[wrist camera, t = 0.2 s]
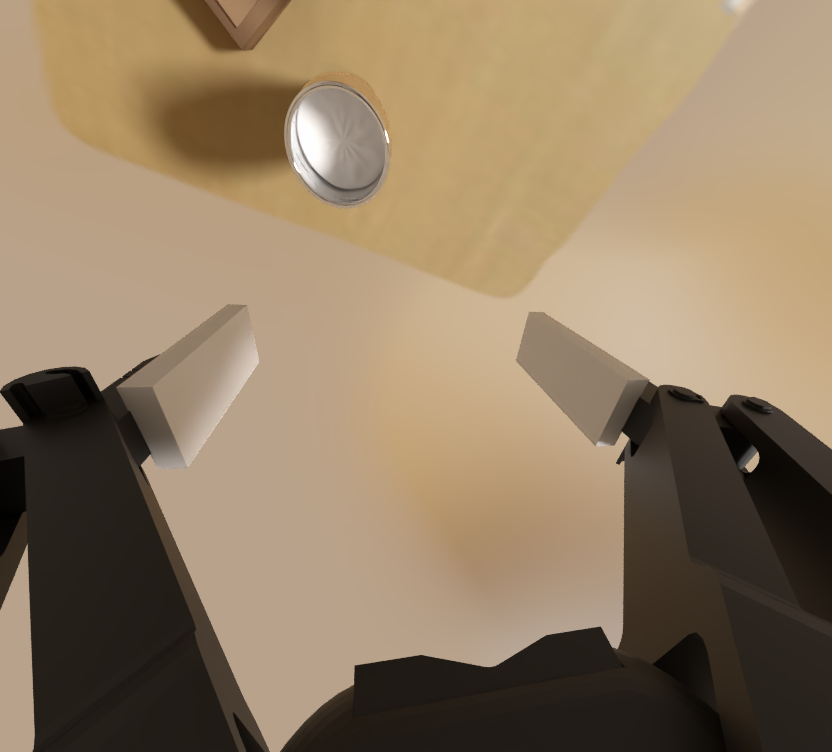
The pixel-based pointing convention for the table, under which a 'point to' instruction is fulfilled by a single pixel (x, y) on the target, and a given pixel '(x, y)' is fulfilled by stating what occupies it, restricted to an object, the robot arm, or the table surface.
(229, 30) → the coaster
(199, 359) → the robot arm
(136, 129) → the table surface
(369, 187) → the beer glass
